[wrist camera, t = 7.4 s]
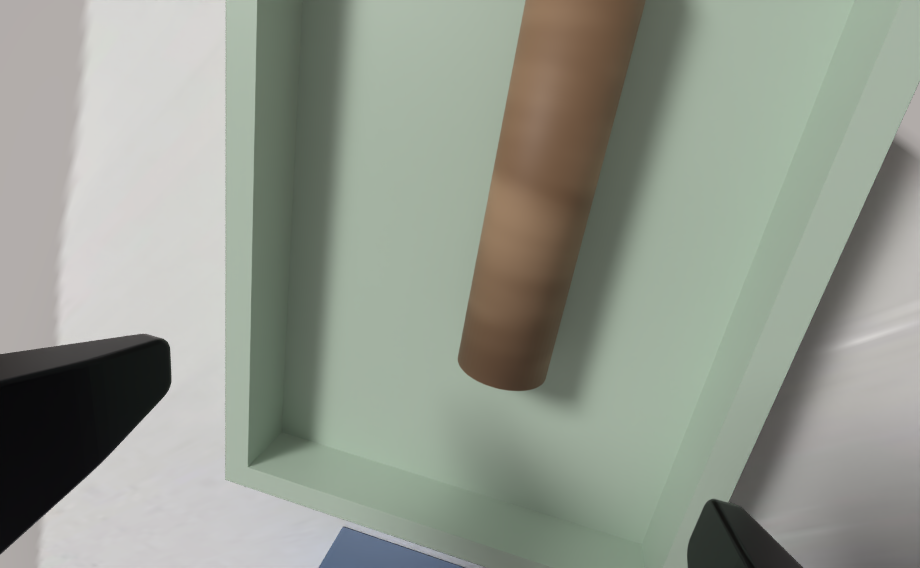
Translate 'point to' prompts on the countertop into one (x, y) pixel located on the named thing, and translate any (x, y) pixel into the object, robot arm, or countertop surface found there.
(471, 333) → the walnut dowel
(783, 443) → the countertop surface
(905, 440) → the countertop surface
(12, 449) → the robot arm
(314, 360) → the sage tray
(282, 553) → the countertop surface
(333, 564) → the slate blue cup
